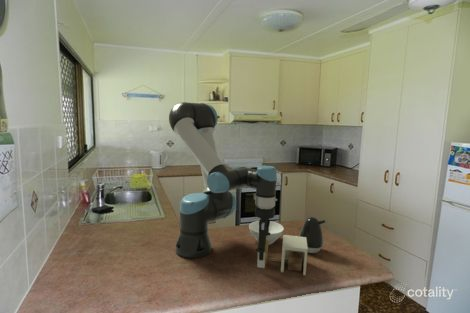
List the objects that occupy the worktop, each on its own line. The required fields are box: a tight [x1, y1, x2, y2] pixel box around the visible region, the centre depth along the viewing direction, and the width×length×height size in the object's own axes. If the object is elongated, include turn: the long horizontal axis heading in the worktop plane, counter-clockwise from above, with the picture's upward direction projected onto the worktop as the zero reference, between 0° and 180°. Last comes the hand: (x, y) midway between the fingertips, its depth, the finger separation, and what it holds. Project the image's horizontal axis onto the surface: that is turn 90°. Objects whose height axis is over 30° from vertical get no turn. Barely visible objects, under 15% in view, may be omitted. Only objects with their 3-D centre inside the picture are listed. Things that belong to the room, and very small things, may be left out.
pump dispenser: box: [299, 216, 326, 254], centre depth 122 cm, size 10×10×15 cm
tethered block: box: [256, 240, 303, 272], centre depth 110 cm, size 17×5×9 cm, turn 79°
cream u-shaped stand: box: [280, 234, 308, 276], centre depth 109 cm, size 9×10×10 cm
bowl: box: [248, 220, 285, 246], centre depth 131 cm, size 16×16×7 cm
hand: (262, 258), depth 111 cm, fingers open, 13 cm apart
